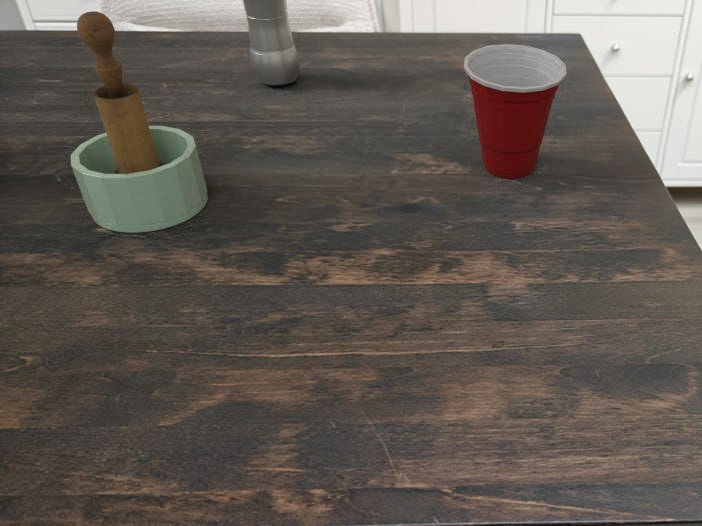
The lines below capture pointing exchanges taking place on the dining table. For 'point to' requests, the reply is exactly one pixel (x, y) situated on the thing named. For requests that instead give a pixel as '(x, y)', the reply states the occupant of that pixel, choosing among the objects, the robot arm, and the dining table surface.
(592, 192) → the dining table surface
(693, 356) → the dining table surface
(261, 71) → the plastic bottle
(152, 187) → the holder
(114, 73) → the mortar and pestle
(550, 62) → the plastic cup
